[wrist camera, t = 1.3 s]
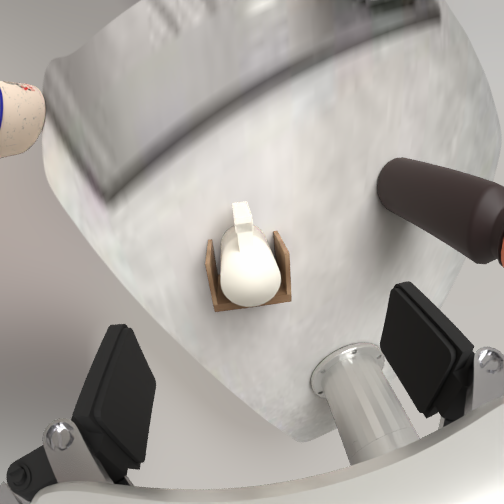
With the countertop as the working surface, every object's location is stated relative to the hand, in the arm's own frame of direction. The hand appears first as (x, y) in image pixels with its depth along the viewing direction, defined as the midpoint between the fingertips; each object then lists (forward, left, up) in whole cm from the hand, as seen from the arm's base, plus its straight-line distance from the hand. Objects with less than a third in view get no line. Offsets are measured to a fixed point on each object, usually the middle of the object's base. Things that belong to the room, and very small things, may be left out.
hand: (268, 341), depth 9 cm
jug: (-4, 0, -21) cm, 21 cm away
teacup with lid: (+15, +26, -21) cm, 37 cm away
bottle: (0, -19, -21) cm, 29 cm away
